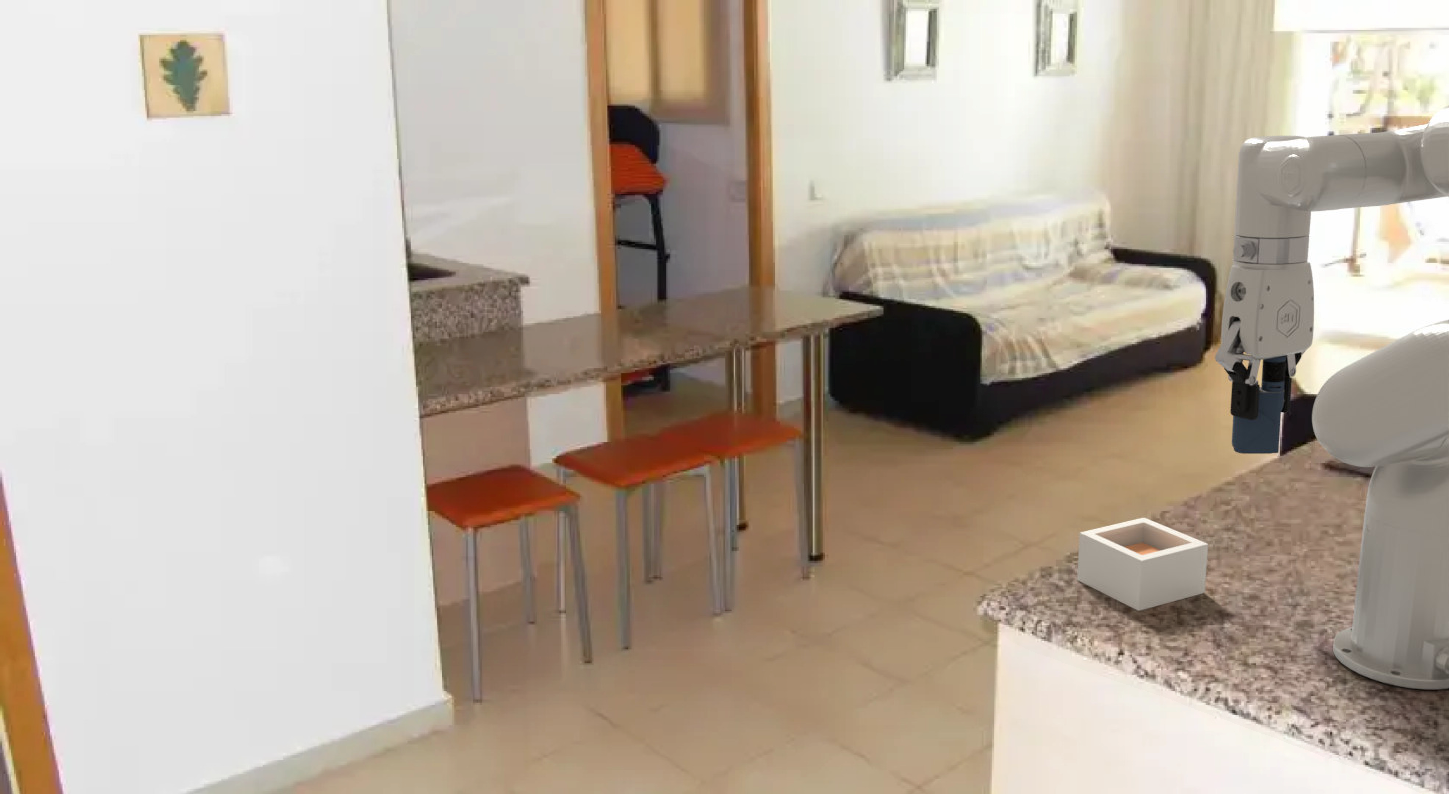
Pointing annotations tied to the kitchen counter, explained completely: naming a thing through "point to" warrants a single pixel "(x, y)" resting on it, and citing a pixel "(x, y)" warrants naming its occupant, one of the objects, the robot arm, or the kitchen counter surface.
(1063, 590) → the kitchen counter surface
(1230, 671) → the kitchen counter surface
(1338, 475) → the kitchen counter surface
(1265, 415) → the vaping device
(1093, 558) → the white hollow square box
